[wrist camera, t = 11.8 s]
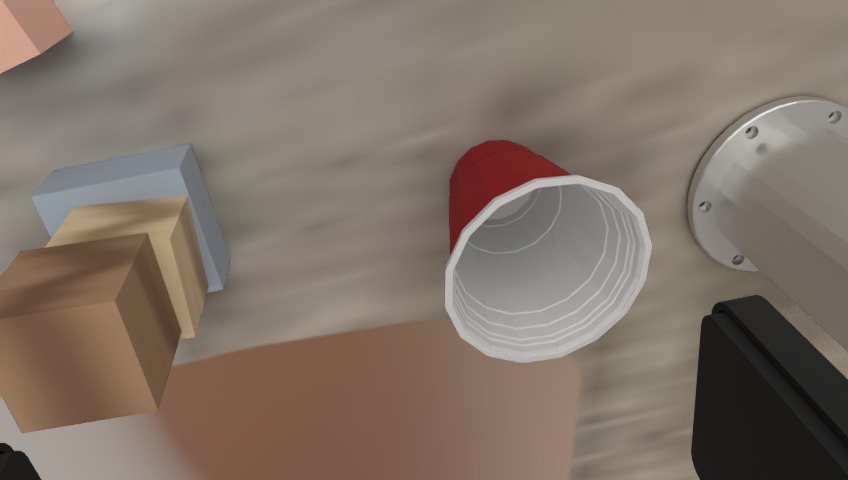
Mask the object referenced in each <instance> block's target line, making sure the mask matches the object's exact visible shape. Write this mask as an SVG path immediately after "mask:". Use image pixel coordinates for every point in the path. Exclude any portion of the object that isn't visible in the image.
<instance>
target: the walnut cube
mask: <svg viewBox="0 0 848 480" xmlns="http://www.w3.org/2000/svg"><path fill="white" fill-rule="evenodd" d="M181 332H182V331H181V328H180V325H179V322H178V320H177V317H176V314H175V311H174V308H173V305H172V302H171V299H170V296H169V293H168V291H167V288H166V285H165V282H164V279H163V276H162V273H161V270H160V267H159V265H158V262H157V259H156V256H155V253H154V250H153V247H152V244H151V241H150V238H149V235H148V233H147V232H146V233H139V234H133V235H126V236H119V237H113V238H106V239H100V240H93V241H86V242H80V243H73V244H66V245H60V246H53V247H46V248H40V249H33V250H26V251H20V253H19V254H18V255H17V256H16V258H15V259H14V260H13V262H12V263H11V264H10V265H9V267H8V268H7V269H6V271H5V272H4V273H3V274H2V276H1V277H0V394H1V396H2V398H3V399H4V401H5V403H6V405H7V407H8V409H9V411H10V412H11V414H12V416H13V418H14V420H15V421H16V424H17V425H18V427H19V429H20V431H21V433H26V432H33V431H39V430H44V429H50V428H56V427H62V426H68V425H74V424H80V423H86V422H92V421H98V420H104V419H110V418H116V417H122V416H128V415H134V414H140V413H146V412H152V411H158V409H159V406H160V402H161V399H162V395H163V392H164V389H165V385H166V382H167V379H168V376H169V372H170V369H171V366H172V362H173V359H174V355H175V352H176V349H177V345H178V342H179V339H180V335H181Z"/></svg>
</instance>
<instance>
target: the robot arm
mask: <svg viewBox="0 0 848 480" xmlns="http://www.w3.org/2000/svg"><path fill="white" fill-rule="evenodd" d="M687 212H688V222H689V225H690V228H691V231H692V233H693V236H694V237H695V239H696V240H697V242H698V243H699V245H700V246H701V247H702V248H703V249H704V250H705V251H706V252H707V253H708V254H709V255H710V257H712V258H713V259H715V260H716V261H718V262H719V263H720V264H722V265H724V266H727V267H729V268H731V269H735V270H741V271H747V272H760V271H761V272H762V273H763V274H764V275H765V276H766V277H767V278H768V279H769V280H771V281H772V282H773V283H774V284H775V285H776V286H777V287H778V288H779V289H780V290H781V291H782V292H783V293H785V294H786V295H787V296H788V297H789V298H790V299H791V300H792V301H793V302H794V303H795V304H796V305H797V306H799V307H800V308H801V309H802V310H803V311H804V312H805V313H806V314H807V315H808V316H809V317H810V318H811V319H813V320H814V321H815V322H816V323H817V324H818V325H819V326H820V327H821V328H822V329H823V330H824V331H825V332H827V333H828V334H829V335H830V336H831V337H832V338H833V339H834V340H835V341H836V342H837V343H838V344H840V345H841V346H842V347H843V348H844V349H845V350H846V351H847V352H848V109H847V108H846V107H844V106H842V105H840V104H837V103H835V102H833V101H831V100H827V99H823V98H819V97H815V96H796V97H790V98H785V99H779V100H776V101H774V102H771V103H768V104H765V105H763V106H760V107H758V108H757V109H755V110H753V111H751V112H749V113H748V114H746V115H744V116H743V117H741V118H740V119H739V120H737V121H736V122H735V123H734V124H732V125H731V126H730V127H728V128H727V129H726V130H725V131H724V132H723V133H722V134H721V135H720V136H719V137H718V138H717V139H716V140H715V142H714V143H713V144H712V145H711V147H710V148H709V150H708V151H707V152H706V154H705V155H704V156H703V158H702V160H701V162H700V164H699V166H698V168H697V170H696V172H695V174H694V176H693V179H692V183H691V186H690V189H689V194H688V203H687ZM691 454H692V460H693V464H694V467H695V470H696V472H697V475H698V476H699V478H700V480H848V379H847V378H846V377H845V376H844V375H843V374H842V373H840V372H839V371H838V370H837V369H836V368H835V367H834V366H833V365H832V364H831V363H830V362H829V361H828V360H827V359H826V358H825V357H824V356H823V355H822V354H821V353H820V352H819V351H818V350H817V349H816V348H815V347H814V346H813V345H812V344H811V343H810V342H809V341H808V340H807V339H806V338H805V337H804V336H803V335H802V334H801V333H800V332H799V331H798V330H797V329H796V328H795V327H794V326H793V325H792V324H791V323H789V322H788V321H787V320H786V319H785V318H784V317H783V316H782V315H781V314H780V313H779V312H778V311H777V310H776V309H775V308H774V307H773V306H772V305H771V304H770V303H769V302H768V301H767V300H766V299H764V298H763V297H762V296H758V295H754V296H749V297H744V298H738V299H733V300H728V301H723V302H719V303H716V304H715V305H714V307H713V309H712V314H711V315H707V316H704V318H703V319H702V324H701V335H700V347H699V360H698V373H697V385H696V398H695V410H694V423H693V436H692V448H691ZM0 480H41V479H40V477H39V475H38V473H37V472H36V470H35V468H34V467H33V465H32V463H31V462H30V460H29V458H28V457H27V456H26V455H25V453H23V452H21V451H14V450H13V449H12V448H11V446H9V445H7V444H5V443H0Z"/></svg>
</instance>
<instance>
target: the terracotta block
mask: <svg viewBox="0 0 848 480" xmlns="http://www.w3.org/2000/svg"><path fill="white" fill-rule="evenodd" d="M72 32H73V30H72V29H71V27H70V26H69V24H68V23H67V21H66V20H65V19H64V17H63V16H62V14H61V13H60V11H59V10H58V8H57V7H56V5H55V4H54V2H53V1H52V0H0V73H2V72H4V71H7V70H9V69H11V68H13V67H15V66H17V65H19V64H21V63H23V62H25V61H27V60H29V59H31V58H33V57H35V56H37V55H39V54H41V53H43V52H44V51H46V50H47V49H49V48H50V47H51V46H53V45H54V44H56V43H57V42H59V41H60V40H62V39H63V38H65V37H66V36H68V35H69V34H70V33H72Z"/></svg>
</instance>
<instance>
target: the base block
mask: <svg viewBox="0 0 848 480" xmlns="http://www.w3.org/2000/svg"><path fill="white" fill-rule="evenodd" d="M180 196H187V197H188V202H189V206H190V210H191V214H192V218H193V223H194V227H195V231H196V235H197V239H198V244H199V248H200V252H201V256H202V261H203V265H204V269H205V273H206V277H207V282H208V286H209V288H208V292H207V293H209V292H214V291H219V290H223V289H224V285H225V281H226V276H227V272H228V267H229V263H230V256H229V253H228V250H227V247H226V244H225V242H224V239H223V236H222V233H221V230H220V227H219V224H218V221H217V219H216V216H215V213H214V210H213V207H212V204H211V201H210V199H209V196H208V193H207V190H206V187H205V184H204V181H203V178H202V176H201V173H200V170H199V167H198V164H197V161H196V158H195V155H194V153H193V150H192V147H191V144H187V145H181V146H176V147H171V148H166V149H161V150H156V151H151V152H146V153H140V154H135V155H130V156H125V157H120V158H115V159H110V160H104V161H99V162H94V163H89V164H84V165H79V166H74V167H68V168H63V169H58V170H54V171H53V172H52V173H51V174H50V175H49V177H48V178H47V179H46V180H45V181H44V182H43V183H42V185H41V186H40V187H39V188H38V189H37V190H36V192H35V193H34V194H33V195H32V196H31V199H32V201H33V203H34V205H35V207H36V209H37V211H38V213H39V215H40V217H41V219H42V221H43V223H44V225H45V227H46V229H47V231H48V233H49V235H50V237H51V238H52V237H53V236H54V234H55V233H56V231H57V230H58V229H59V227H60V226H61V224H62V223H63V222H64V220H65V219H66V217H67V216H68V215H69V213H70V212H71V210H72V209H73V208H74V207H75V206H86V205H96V204H107V203H117V202H128V201H138V200H148V199H159V198H169V197H180Z"/></svg>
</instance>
